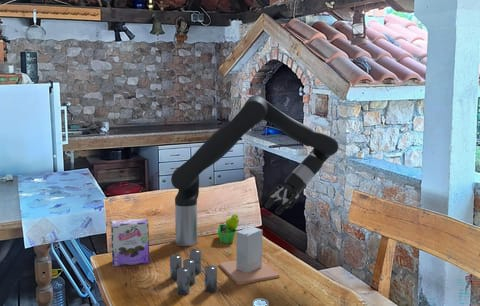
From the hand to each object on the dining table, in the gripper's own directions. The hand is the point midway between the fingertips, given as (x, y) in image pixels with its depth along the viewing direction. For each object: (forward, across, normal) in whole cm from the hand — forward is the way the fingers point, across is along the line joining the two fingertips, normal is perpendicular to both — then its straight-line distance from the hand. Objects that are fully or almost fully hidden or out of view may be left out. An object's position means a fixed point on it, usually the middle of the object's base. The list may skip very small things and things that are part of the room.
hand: (271, 210), depth 180 cm
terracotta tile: (+22, +4, +7) cm, 24 cm away
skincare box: (+22, +4, +7) cm, 23 cm away
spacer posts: (+39, +5, -8) cm, 40 cm away
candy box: (+50, -21, -18) cm, 58 cm away
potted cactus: (+19, -30, +12) cm, 37 cm away
